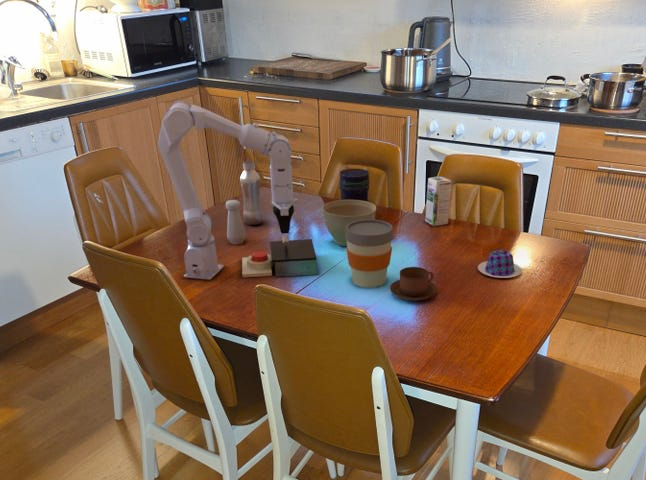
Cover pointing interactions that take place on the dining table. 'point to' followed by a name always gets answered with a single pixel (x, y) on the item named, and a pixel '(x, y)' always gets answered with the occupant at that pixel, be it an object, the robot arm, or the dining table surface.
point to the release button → (259, 256)
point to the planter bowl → (346, 216)
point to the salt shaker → (235, 223)
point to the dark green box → (295, 268)
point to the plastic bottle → (251, 194)
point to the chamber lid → (292, 250)
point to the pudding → (500, 265)
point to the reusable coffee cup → (369, 251)
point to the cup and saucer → (414, 284)
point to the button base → (256, 267)
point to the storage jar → (354, 184)
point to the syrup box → (438, 201)
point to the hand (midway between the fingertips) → (284, 232)
